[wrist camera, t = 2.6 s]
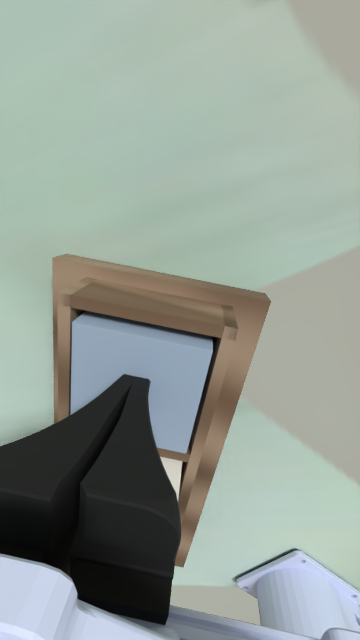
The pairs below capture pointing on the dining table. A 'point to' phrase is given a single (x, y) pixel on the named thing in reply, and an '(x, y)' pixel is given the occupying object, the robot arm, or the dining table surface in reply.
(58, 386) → the wooden compartment tray
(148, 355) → the slate blue key
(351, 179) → the dining table surface
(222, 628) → the robot arm
